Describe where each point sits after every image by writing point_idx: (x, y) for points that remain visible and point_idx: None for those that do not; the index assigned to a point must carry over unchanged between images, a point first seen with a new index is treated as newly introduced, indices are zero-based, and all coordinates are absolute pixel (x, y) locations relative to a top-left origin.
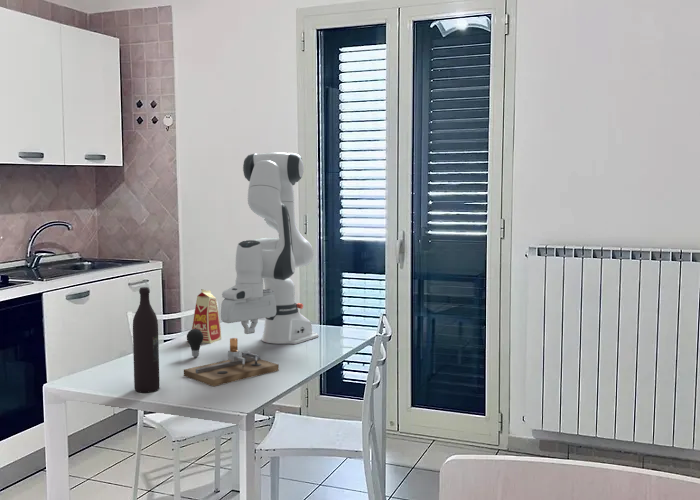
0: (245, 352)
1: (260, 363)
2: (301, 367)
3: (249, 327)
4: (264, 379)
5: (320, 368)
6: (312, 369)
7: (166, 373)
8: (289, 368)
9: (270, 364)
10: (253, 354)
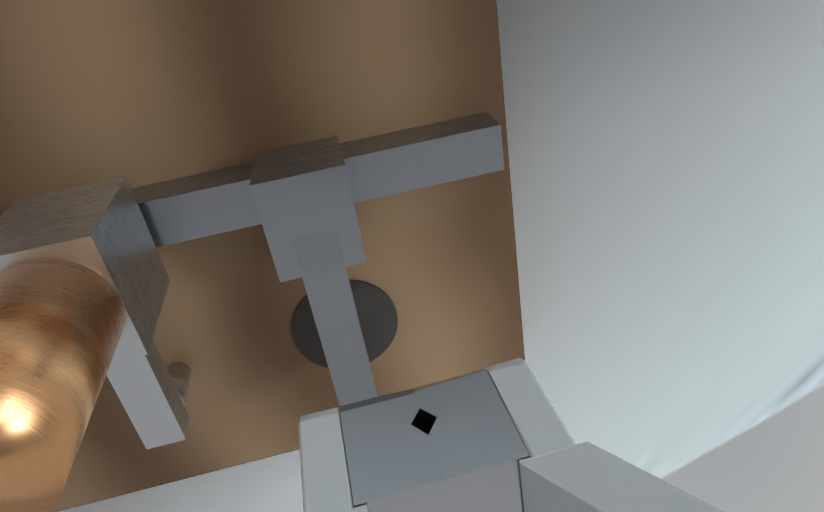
0: (295, 224)
1: (410, 296)
2: (694, 353)
3: (495, 475)
4: (288, 503)
5: (757, 423)
6: (704, 423)
7: None
8: (611, 338)
9: (469, 365)
10: (344, 358)
